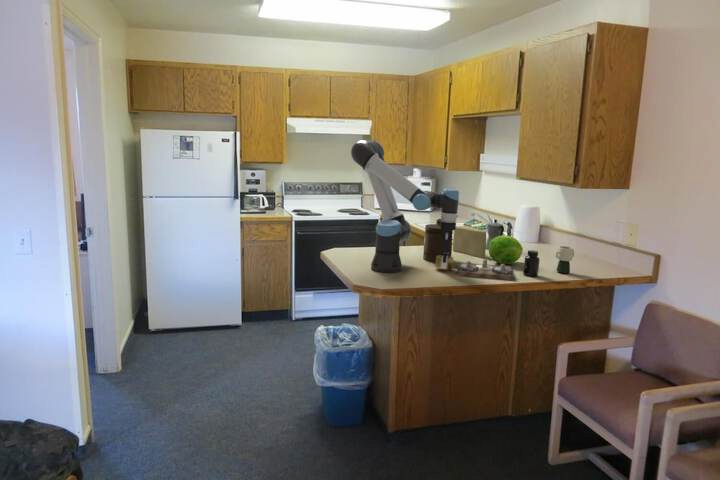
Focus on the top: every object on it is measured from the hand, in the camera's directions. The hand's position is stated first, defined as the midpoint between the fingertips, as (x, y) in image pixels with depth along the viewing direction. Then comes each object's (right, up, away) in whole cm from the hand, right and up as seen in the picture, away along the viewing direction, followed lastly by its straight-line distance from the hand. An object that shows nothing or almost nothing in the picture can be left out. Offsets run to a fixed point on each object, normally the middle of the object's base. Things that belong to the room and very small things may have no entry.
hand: (443, 266), depth 253 cm
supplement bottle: (+41, -4, -4) cm, 42 cm away
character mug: (+60, -4, +4) cm, 60 cm away
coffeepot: (+39, +7, +54) cm, 67 cm away
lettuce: (+36, 0, +20) cm, 41 cm away
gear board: (+19, -3, -2) cm, 20 cm away
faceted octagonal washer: (0, 0, 0) cm, 0 cm away
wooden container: (0, +2, +22) cm, 22 cm away
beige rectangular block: (+22, +5, +39) cm, 45 cm away
